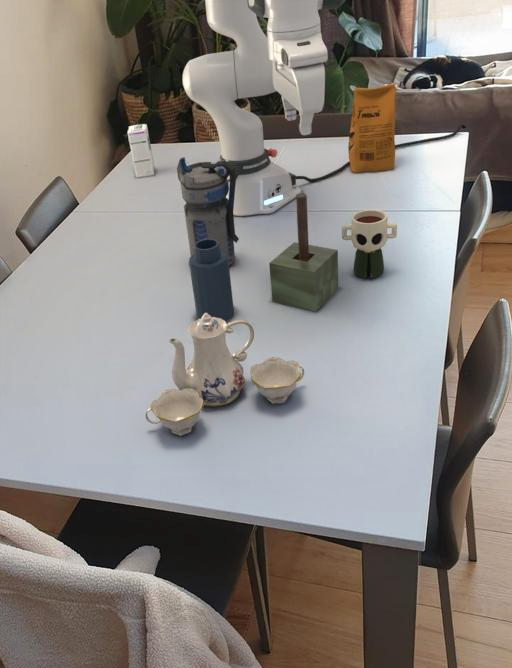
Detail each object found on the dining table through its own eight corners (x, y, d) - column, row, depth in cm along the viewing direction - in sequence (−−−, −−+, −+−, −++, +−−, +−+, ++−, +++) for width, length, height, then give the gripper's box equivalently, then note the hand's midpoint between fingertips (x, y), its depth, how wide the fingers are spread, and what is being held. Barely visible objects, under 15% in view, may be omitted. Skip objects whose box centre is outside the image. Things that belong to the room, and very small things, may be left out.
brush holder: (296, 279, 154) (294, 241, 149) (338, 288, 148) (337, 249, 143) (272, 301, 148) (269, 263, 143) (315, 311, 142) (314, 272, 137)
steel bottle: (217, 301, 151) (208, 232, 142) (241, 313, 146) (234, 242, 137) (189, 315, 148) (179, 246, 139) (213, 328, 143) (203, 256, 134)
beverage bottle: (235, 276, 159) (224, 168, 145) (182, 271, 165) (166, 167, 151) (251, 255, 166) (242, 150, 152) (199, 251, 172) (186, 150, 158)
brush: (297, 294, 149) (292, 194, 136) (307, 291, 149) (303, 191, 137) (303, 299, 147) (299, 198, 134) (313, 295, 147) (310, 195, 135)
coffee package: (348, 162, 205) (347, 83, 193) (393, 158, 203) (395, 78, 190) (349, 175, 198) (348, 93, 185) (395, 171, 195) (398, 88, 182)
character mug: (341, 281, 150) (341, 225, 143) (342, 265, 156) (342, 210, 149) (395, 280, 148) (398, 222, 140) (394, 264, 153) (396, 207, 146)
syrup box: (154, 175, 220) (146, 128, 212) (135, 178, 220) (127, 131, 212) (155, 169, 225) (147, 122, 216) (136, 171, 225) (128, 125, 217)
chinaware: (167, 464, 114) (155, 387, 104) (129, 402, 126) (115, 328, 116) (317, 403, 121) (320, 326, 111) (267, 350, 133) (266, 275, 123)
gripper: (261, 37, 129) (266, 114, 137) (292, 59, 112) (296, 146, 120) (295, 31, 129) (299, 108, 137) (331, 52, 112) (332, 139, 120)
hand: (297, 126), depth 128 cm, fingers open, 8 cm apart
